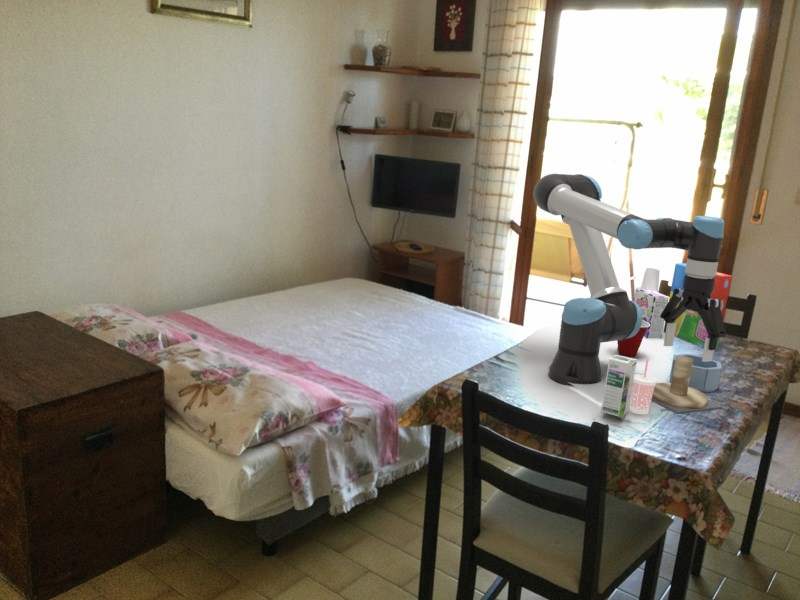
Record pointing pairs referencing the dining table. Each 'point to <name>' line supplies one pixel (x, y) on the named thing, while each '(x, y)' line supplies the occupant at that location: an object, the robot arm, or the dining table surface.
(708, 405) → the mat
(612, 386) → the syrup box
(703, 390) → the bowl
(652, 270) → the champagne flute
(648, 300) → the candy box
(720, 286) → the game box
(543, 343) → the dining table surface
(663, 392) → the lid
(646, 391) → the beverage cup
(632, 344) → the plastic cup
